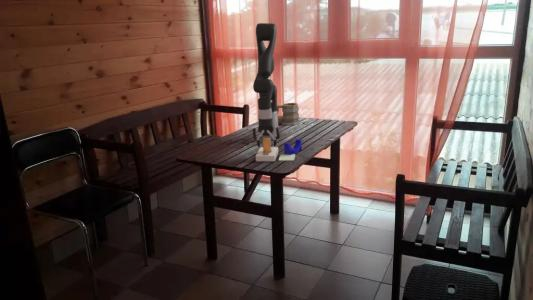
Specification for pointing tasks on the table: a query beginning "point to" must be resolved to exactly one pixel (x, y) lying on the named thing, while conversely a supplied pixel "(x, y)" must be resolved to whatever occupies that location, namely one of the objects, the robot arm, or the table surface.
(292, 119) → the tankard
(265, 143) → the plug
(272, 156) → the white slab with hole
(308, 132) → the table surface
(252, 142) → the table surface
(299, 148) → the cable clip
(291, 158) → the mat
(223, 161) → the table surface
